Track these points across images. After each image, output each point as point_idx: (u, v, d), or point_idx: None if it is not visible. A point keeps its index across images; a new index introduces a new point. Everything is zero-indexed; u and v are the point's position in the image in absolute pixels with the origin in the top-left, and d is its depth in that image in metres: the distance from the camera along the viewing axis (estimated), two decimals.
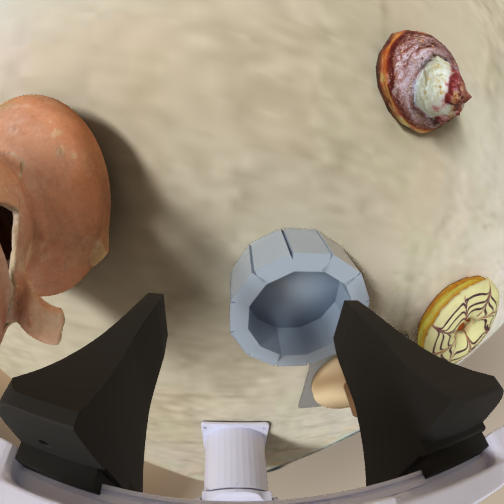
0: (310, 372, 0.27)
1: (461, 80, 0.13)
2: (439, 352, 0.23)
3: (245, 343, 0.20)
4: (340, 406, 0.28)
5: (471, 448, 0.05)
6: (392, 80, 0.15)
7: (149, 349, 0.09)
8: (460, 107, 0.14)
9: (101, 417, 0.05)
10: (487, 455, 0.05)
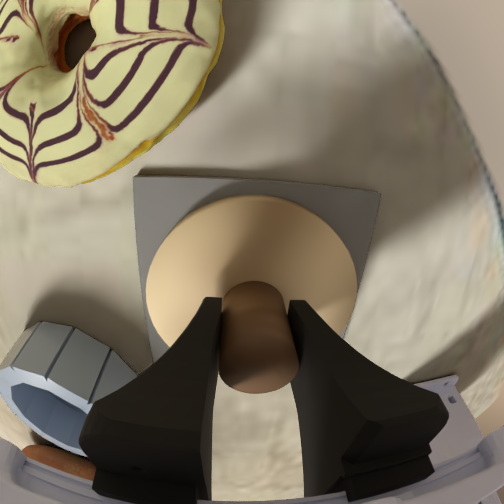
0: None
1: None
2: (91, 122, 0.07)
3: None
4: (341, 318, 0.13)
5: (410, 473, 0.05)
6: None
7: (215, 354, 0.09)
8: None
9: (204, 432, 0.05)
10: (487, 455, 0.05)
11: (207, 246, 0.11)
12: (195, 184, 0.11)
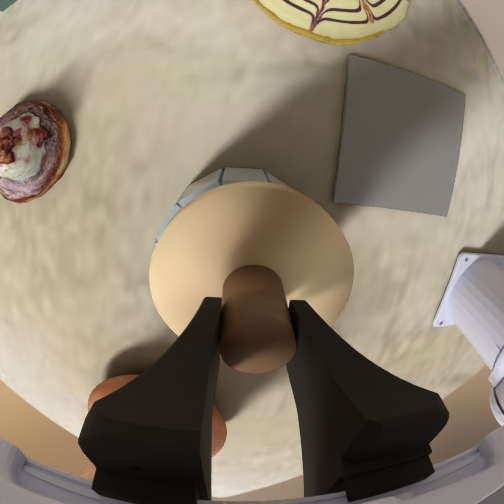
0: (383, 206, 0.19)
1: None
2: (365, 10, 0.11)
3: None
4: (335, 308, 0.13)
5: (410, 473, 0.05)
6: (28, 197, 0.16)
7: (215, 354, 0.09)
8: (16, 132, 0.12)
9: (204, 431, 0.05)
10: (487, 455, 0.05)
11: (214, 227, 0.11)
12: (384, 67, 0.15)
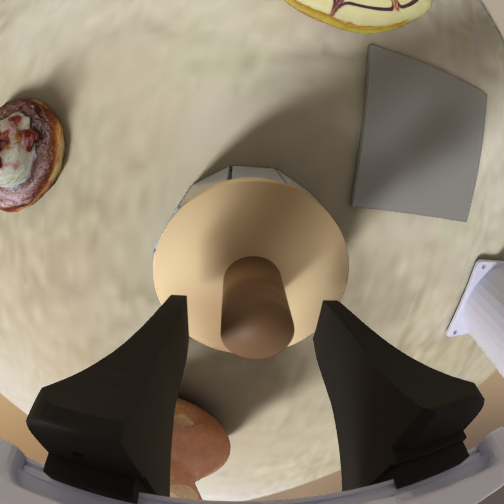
0: (403, 211, 0.17)
1: None
2: None
3: None
4: None
5: (449, 458, 0.05)
6: (18, 206, 0.14)
7: (175, 351, 0.09)
8: (3, 134, 0.11)
9: (141, 424, 0.05)
10: (487, 455, 0.05)
11: (216, 220, 0.12)
12: (407, 60, 0.13)
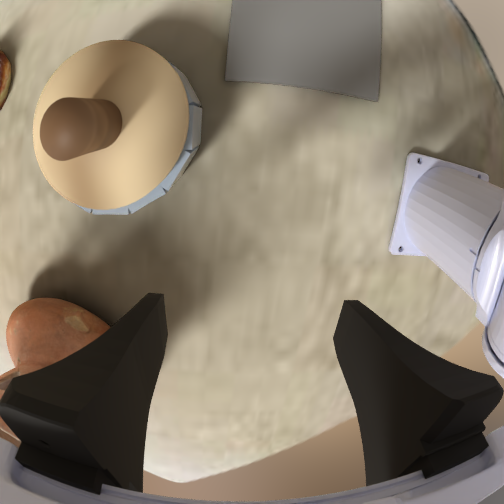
0: (286, 83, 0.16)
1: None
2: None
3: (146, 195, 0.15)
4: (174, 138, 0.13)
5: (471, 448, 0.05)
6: None
7: (148, 349, 0.09)
8: None
9: (101, 417, 0.05)
10: (487, 455, 0.05)
11: (73, 75, 0.11)
12: None
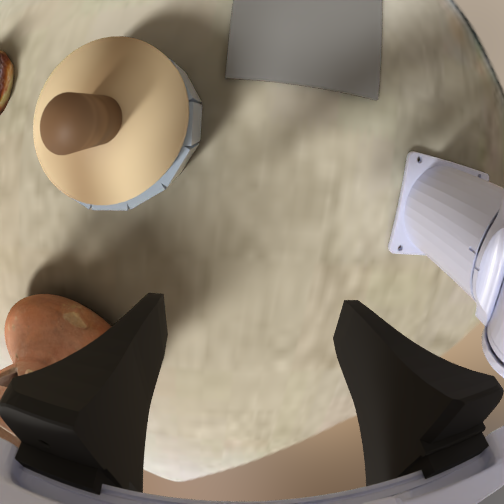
0: (286, 81, 0.16)
1: None
2: None
3: (145, 191, 0.15)
4: (174, 134, 0.13)
5: (471, 448, 0.05)
6: None
7: (148, 349, 0.09)
8: None
9: (101, 417, 0.05)
10: (487, 455, 0.05)
11: (74, 72, 0.11)
12: None
